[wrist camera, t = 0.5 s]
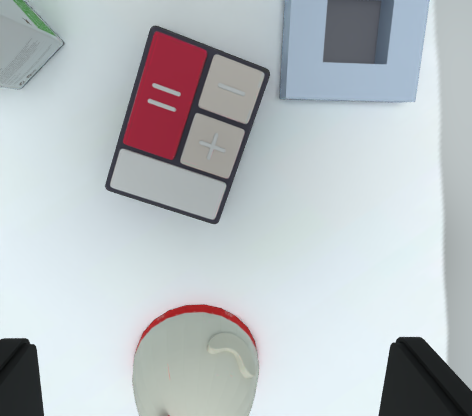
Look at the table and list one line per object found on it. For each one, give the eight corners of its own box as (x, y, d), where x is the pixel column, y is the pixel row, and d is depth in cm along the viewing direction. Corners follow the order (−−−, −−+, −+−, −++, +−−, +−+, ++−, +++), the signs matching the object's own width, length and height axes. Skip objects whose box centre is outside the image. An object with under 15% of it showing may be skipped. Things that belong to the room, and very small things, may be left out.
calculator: (273, 68, 32) (217, 227, 35) (265, 75, 37) (216, 217, 39) (150, 20, 31) (101, 190, 33) (156, 33, 35) (112, 184, 37)
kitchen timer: (205, 426, 46) (203, 574, 31) (111, 368, 43) (61, 501, 28) (281, 348, 43) (316, 467, 29) (187, 281, 41) (175, 375, 26)
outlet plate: (287, -42, 33) (294, -57, 30) (417, -35, 34) (436, -48, 31) (279, 98, 36) (285, 98, 33) (399, 102, 37) (415, 101, 34)
